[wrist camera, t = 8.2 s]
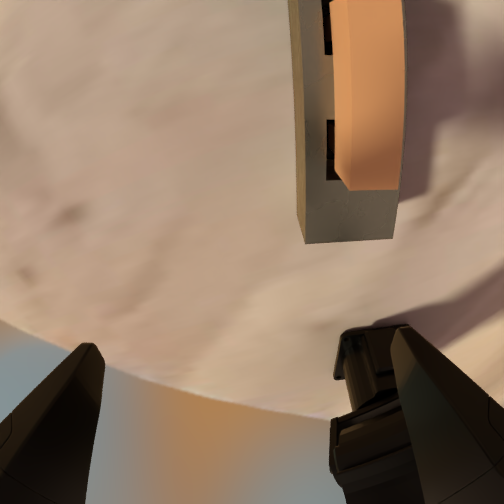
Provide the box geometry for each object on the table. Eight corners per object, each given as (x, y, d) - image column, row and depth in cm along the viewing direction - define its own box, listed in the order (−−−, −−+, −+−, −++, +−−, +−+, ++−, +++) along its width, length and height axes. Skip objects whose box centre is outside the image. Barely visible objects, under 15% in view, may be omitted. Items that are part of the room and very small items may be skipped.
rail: (373, 211, 20) (392, 238, 17) (296, 214, 20) (304, 243, 17) (372, -41, 11) (397, -57, 8) (283, -49, 11) (290, -71, 8)
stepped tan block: (358, 151, 17) (398, 189, 13) (321, 152, 17) (349, 190, 13) (356, 14, 13) (401, -1, 8) (315, 12, 13) (346, -8, 8)
